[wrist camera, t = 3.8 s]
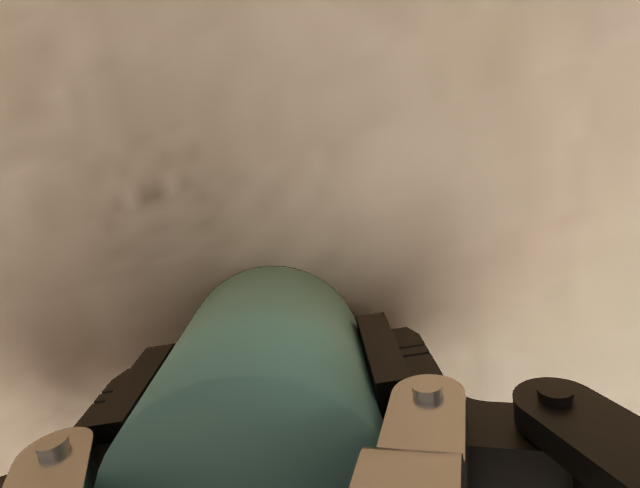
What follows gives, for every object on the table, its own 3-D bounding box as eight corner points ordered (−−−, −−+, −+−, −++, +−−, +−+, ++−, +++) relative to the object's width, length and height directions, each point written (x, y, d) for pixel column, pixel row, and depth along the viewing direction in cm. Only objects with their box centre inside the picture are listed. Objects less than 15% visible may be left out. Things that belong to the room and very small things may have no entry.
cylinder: (173, 280, 12) (54, 402, 7) (347, 253, 12) (384, 353, 7) (208, 434, 14) (133, 657, 8) (369, 410, 14) (417, 615, 8)
